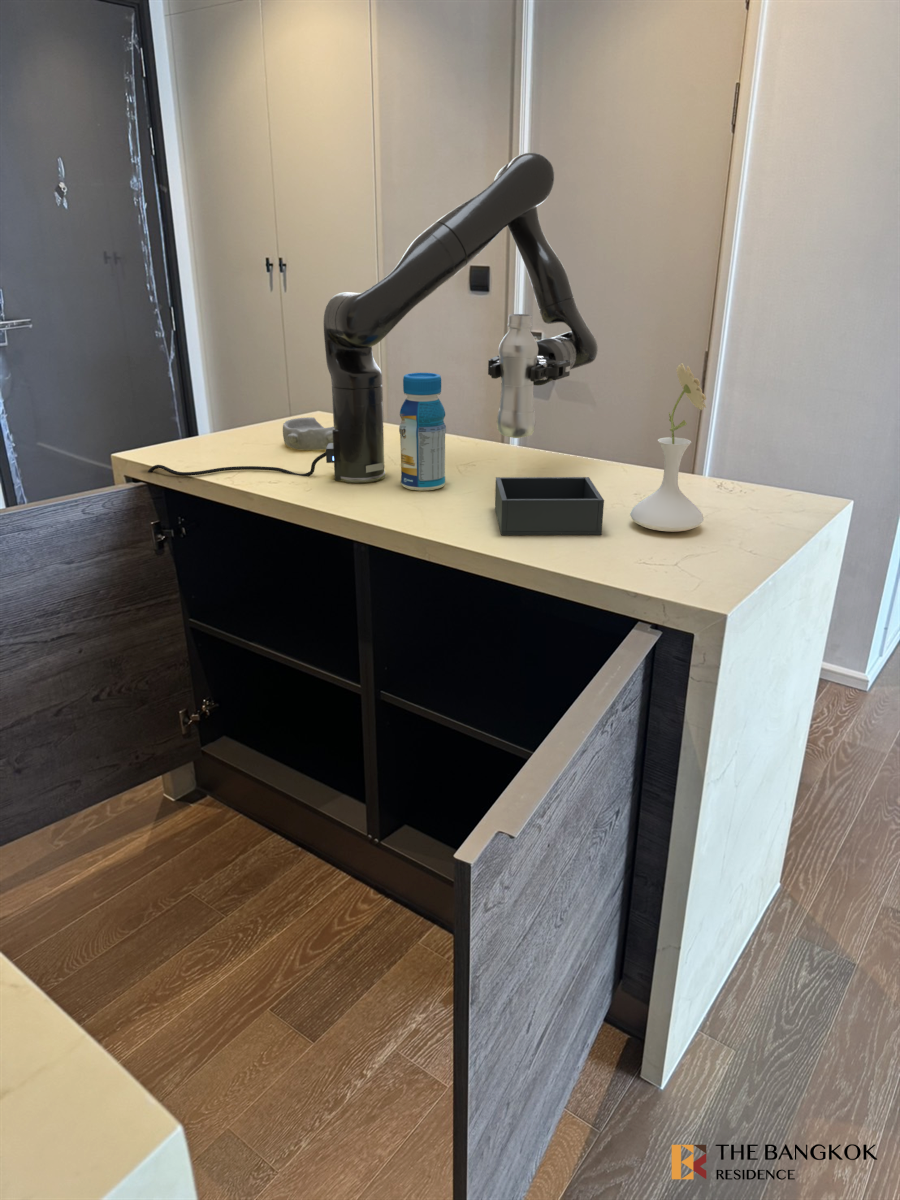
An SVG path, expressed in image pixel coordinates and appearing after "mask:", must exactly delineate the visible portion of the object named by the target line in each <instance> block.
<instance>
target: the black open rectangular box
mask: <svg viewBox="0 0 900 1200" xmlns="http://www.w3.org/2000/svg"><path fill="white" fill-rule="evenodd" d="M494 486H495V488H494V491H495V493H494V511H495V515H496V520H497V524H498V529H499V532H500V535H501V536H602V534H603V519H604V508H605V506H604V505H605V500H604V498H603V496H602V494H600V492H599V490H598V488H597V487H596V486H595V484H594V483H593V481H592V479H591V478H590V476H518V477H517V476H515V477H514V476H508V477H507V476H502V477H501V476H498V477H497V476H496V477H495V485H494Z"/></svg>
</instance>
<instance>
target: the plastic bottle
mask: <svg viewBox="0 0 900 1200" xmlns="http://www.w3.org/2000/svg"><path fill="white" fill-rule="evenodd" d="M532 318H533V317H532V314H526V313H525V314H524V313H513V314H512V313H511V314H508V323H507V328H509V329H508V331H507V332H506V333H505V335H504V336H503V338H502V339H501V341H500V343H499V346H498V356H499V360H500V368H501V377H500V381H501V383H500V399H499V408H498V411H497V416H496V427H497V428H496V429H497V431H498V433H499V434H500V435H501V436H503V437H508V438H512V439H520V438H527V437H531V436H532V435H533V434H534V432H535V430H536V424H537V418H536V411H535V401H534V400H535V399H534V398H535V397H534V386H535V385H534V384H533V381H531V380H530V377H531V368H532V367H535V366H536V362H537V357H538V356H537V355H538V345H537V342H536V341H537V340H536V339H535V336H534V335H533V334H532V332H531V328H532V326H533V324H532Z"/></svg>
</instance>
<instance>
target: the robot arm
mask: <svg viewBox="0 0 900 1200" xmlns="http://www.w3.org/2000/svg"><path fill="white" fill-rule="evenodd" d="M554 184H555V171H554V167H553V164H552V163H551V161H550V160H549V159H548V158H547V157H546V156H545V155H543V154H541V153H537V152H524V153H522V154H519V155H517V156H516V157H514V158H513V159H511V160H510V161H509V162H507V163H506V164H505V165H503V166H502V167H501V168H500V169H499V170H498V172H497V173H496V175H495V177H494V180H493V182H491V183H490V184H489V185H488V186H487V187H486V188H484V189H483V190H482V191H481V192H479V193H478V194H476V195H475V196H473V197H471V198H470V199H468V200H467V201H466V200H465V202H463V203H461V204H459V205H458V206H457V207H455V208H453V209H452V210H451V211H449V212H447V213H446V214H445V215H443V216H441V217H440V218H439V219H437V220H436V221H435V222H434V223H432V224H431V225H430V226H428V227H427V228H426V229H425V230H423V231H422V232H421V233H420V234H419V235H418V236H417V237H416V238H415V239H414V240H413V241H412V242H411V243H410V244H409V246H408V247H407V249H406V251H405V252H404V253H403V255H402V257H401V259H400V260H399V262H397V264H396V266H395V267H394V268H393V270H392V271H390V273H389V274H388V275H386V276H385V277H383V278H382V279H381V280H380V281H378V282H377V283H375V284H374V285H372V286H371V287H369V288H368V289H366V290H364V291H363V292H351V291H345V292H339V293H336V294H335V295H333V296H332V297H331V298H330V299H329V301H328V302H327V304H326V306H325V309H324V313H323V338H324V349H325V360H326V361H325V362H326V367H327V370H328V373H329V375H330V380H331V381H330V382H331V396H332V397H331V400H332V419H333V427H334V429H333V431H332V434H333V443H328V445H327V447H326V449H325V452H323V453H321V454H319V455H318V456H316V457H315V458H314V460H313V461H312V463H311V466H310V471H308V472H306V473H296V472H294V471H291V470H287V469H285V468H281V467H276V466H261V465H260V466H259V465H240V466H225V467H224V466H223V467H218V468H210V469H205V470H200V471H199V470H198V471H177V470H174V469H171V468H169V467H168V466H165V465H163V464H155V465H153V466H151V467H150V468H148V470H147V473H153V472H154V471H155V470H157V469H160V470H163V471H166V472H167V473H170V474H172V475H175V476H182V477H190V476H191V477H192V476H201V475H209V474H213V473H219V472H220V473H221V472H228V471H254V470H255V471H273V472H279V473H283V474H287V475H292V476H293V475H294V476H301V477H311V476H312V475H313V474H314V472H315V469H316V464H317V463H318V462H319V461H320V460H322V459H323V458H325V462H326V464H333V471H334V481H336V482H345V483H354V484H362V483H363V484H364V483H373V482H377V481H381V480H383V479H384V478H385V477H386V470H385V467H386V465H385V445H384V444H385V441H384V440H385V437H384V405H383V404H384V403H383V402H384V401H383V374H382V370H381V369H380V367H379V366H378V364H377V362H376V361H375V358H374V354H373V347H374V346H376V345H377V344H379V343H380V342H381V341H383V339H384V338H386V336H387V335H388V334H389V333H391V331H392V330H393V329H394V328H395V327H396V326H397V325H398V324H399V323H400V322H401V321H402V320H403V319H404V318H405V317H406V316H407V315H408V314H409V313H410V311H412V310H413V309H414V308H415V307H416V306H417V305H419V304H420V303H421V302H423V301H424V300H425V299H426V298H428V297H429V296H431V295H432V294H433V293H434V292H435V291H437V290H438V289H439V288H441V286H442V285H444V284H445V283H446V282H448V281H449V280H451V279H452V278H453V277H454V276H456V275H457V274H458V273H459V272H461V271H462V270H463V269H464V268H465V267H466V266H467V265H469V263H471V262H472V261H473V260H474V259H475V258H476V257H477V256H478V255H479V254H481V252H482V251H483V250H485V248H487V246H489V245H490V243H492V241H493V240H494V239H495V238H496V237H497V236H498V235H499V234H500V233H501V232H502V231H503V230H504V229H505V228H506V227H507V229H508V230H509V232H510V234H511V237H512V239H513V241H514V244H515V246H516V247H517V250H518V253H519V255H520V257H521V259H522V262H523V265H524V267H525V271H526V272H527V275H528V278H529V281H530V284H531V287H532V291H533V295H534V298H535V302H536V304H537V308H538V310H539V315H540V317H541V320H542V321H543V323H545V324H546V325H547V324H548V325H549V324H550V325H553V324H559V323H560V324H565V325H566V326H568V328H569V329H570V331H567V332H564V333H561V334H559V335H555V336H553V337H549V338H548V337H546V338H542V339H539V340H536V342H537V345H538V355H537V356H538V357H537V362H536V366H535V367H532V368H531V377H530V380H531V381H533V384H534V386H543V385H546V384H549V383H550V382H553V381H557V380H558V381H559V380H561V379H564V378H567V377H570V373H571V370H573V369H576V368H580V367H583V366H586V365H589V364H591V363H593V362H594V361H595V360H596V358H597V356H598V352H599V347H598V341H597V339H596V337H595V335H594V334H593V332H592V331H591V328H589V326H588V325H587V323H586V321H585V319H584V317H583V315H582V314H581V312H580V310H579V308H578V305H577V303H576V300H575V297H574V293H573V291H572V290H573V289H572V286H571V282H570V279H569V276H568V273H567V271H566V268H565V267H564V265H563V263H562V261H561V260H560V257H559V256H558V255H557V254H556V252H555V250H554V249H553V248H552V246H551V245H550V243H549V241H548V240H547V237H546V236H545V234H544V231H543V229H542V226H541V222H540V219H539V214H538V207H539V206H540V205H541V204H542V203H544V202H545V201H546V200H547V199H548V197H549V196H550V194H551V193H552V190H553V188H554ZM487 361H488V362H487V363H488V364H487V375H489V376H490V377H491V379H493V380H495V379H499V378H501V368H500V360H499V355H495V356H493V357H492V358H490V359H488V360H487ZM158 637H159V643H160V644H164V636H163V635H159V636H158Z"/></svg>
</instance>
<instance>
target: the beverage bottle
mask: <svg viewBox="0 0 900 1200" xmlns="http://www.w3.org/2000/svg"><path fill="white" fill-rule="evenodd" d="M402 387H403V388H402V389H403V390H402V391H403V394H404V396H406V398H405V399H404V400H403V403H402V405H401V407H400V410H399V417H400V419H401V422H400V424H399V428H398V432H399V437H400V438H399V441H400V443H399V445H400V484H401V486H402V487H404V488H405V489H407V490H411V491H420V492H423V491H425V492H427V491H434V490H438V489H441V488H443V487H444V486H445V485H446V434H447V426H446V423H445V420H444V419H445V417H446V410H445V407H444V404H443V403H442V401H441V399H440V398H439V397H438V396H439V395H441V393H442V376H441V375H440V374H438V373H433V372H411V373H406V374H404V375H403V378H402Z"/></svg>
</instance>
